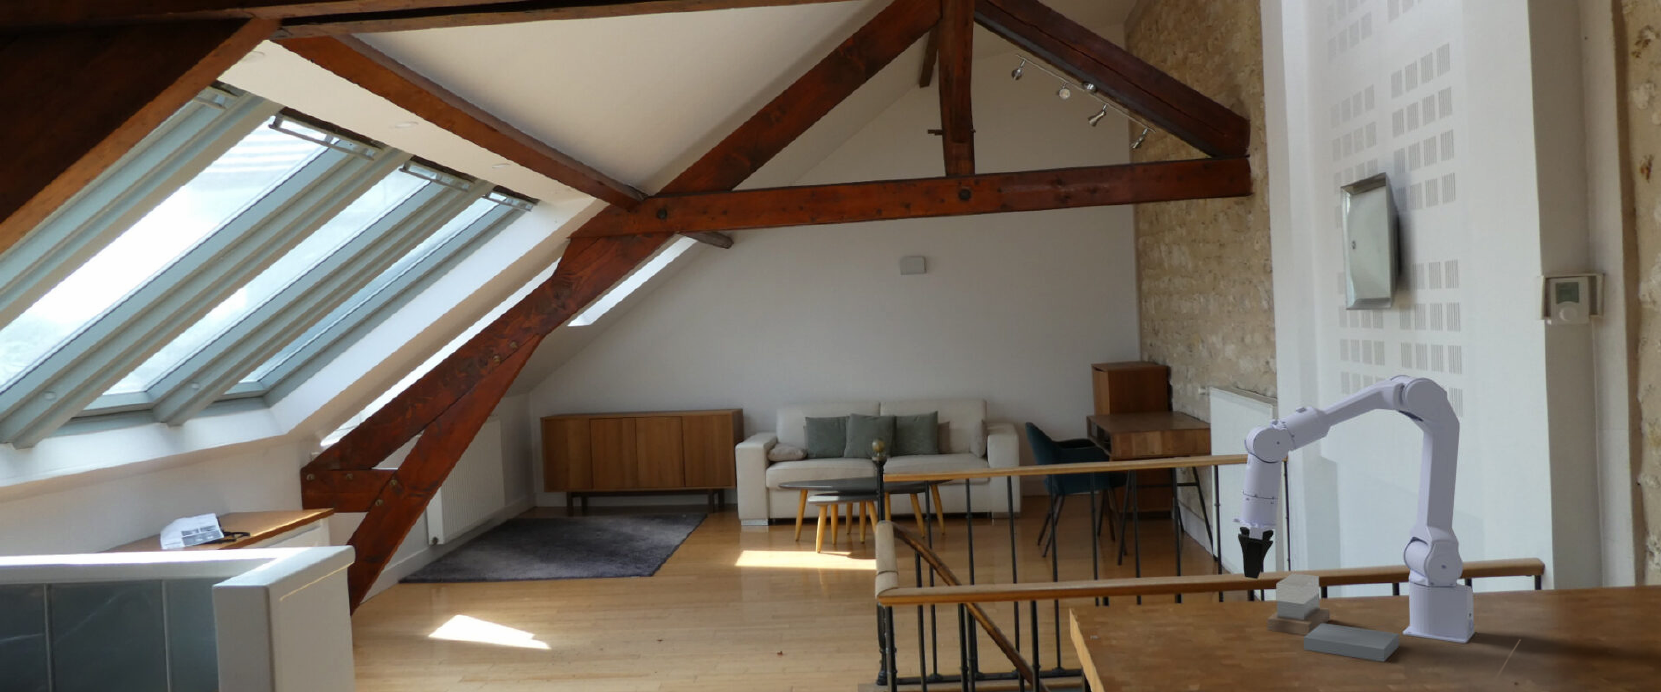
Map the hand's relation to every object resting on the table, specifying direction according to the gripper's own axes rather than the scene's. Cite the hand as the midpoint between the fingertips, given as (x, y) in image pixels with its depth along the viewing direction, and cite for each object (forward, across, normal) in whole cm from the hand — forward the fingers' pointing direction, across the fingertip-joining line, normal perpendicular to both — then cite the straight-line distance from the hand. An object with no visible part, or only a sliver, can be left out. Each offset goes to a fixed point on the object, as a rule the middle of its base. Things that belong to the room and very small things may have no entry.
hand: (1251, 573), depth 191 cm
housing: (+7, -8, +8) cm, 13 cm away
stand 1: (+9, -8, +9) cm, 15 cm away
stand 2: (+8, +4, +16) cm, 19 cm away
